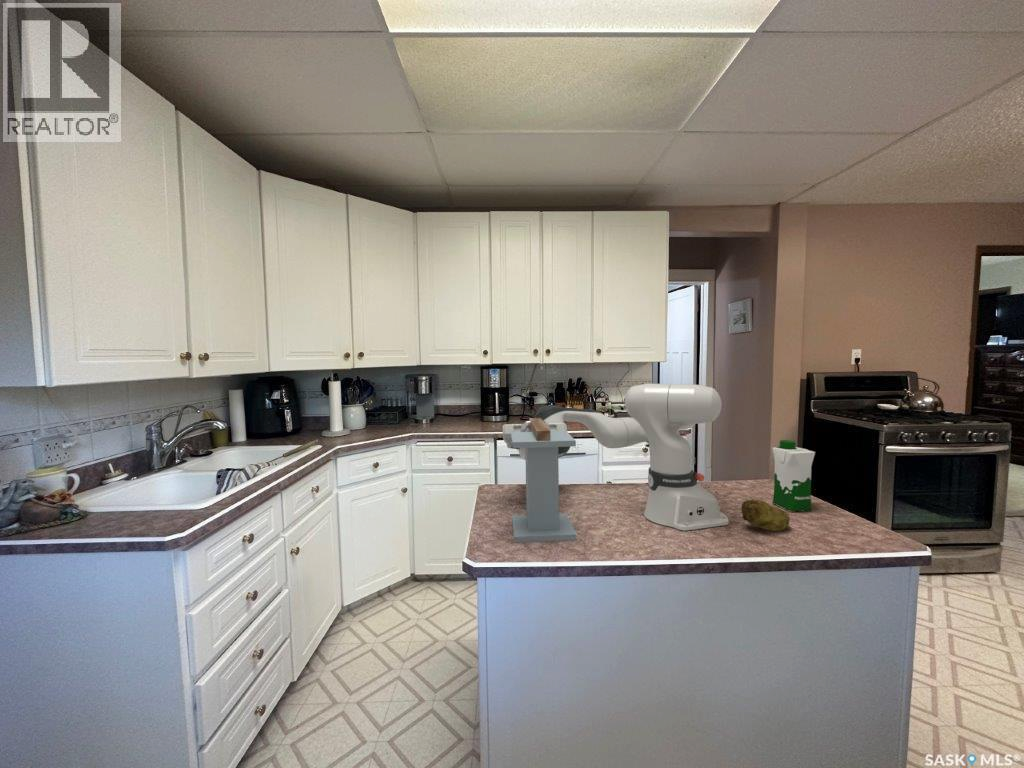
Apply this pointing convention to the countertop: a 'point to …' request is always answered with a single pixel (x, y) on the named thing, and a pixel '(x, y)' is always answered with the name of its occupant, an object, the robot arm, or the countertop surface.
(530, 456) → the stand
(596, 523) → the countertop surface
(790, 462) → the milk carton
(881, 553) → the countertop surface
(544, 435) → the block
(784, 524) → the potato
